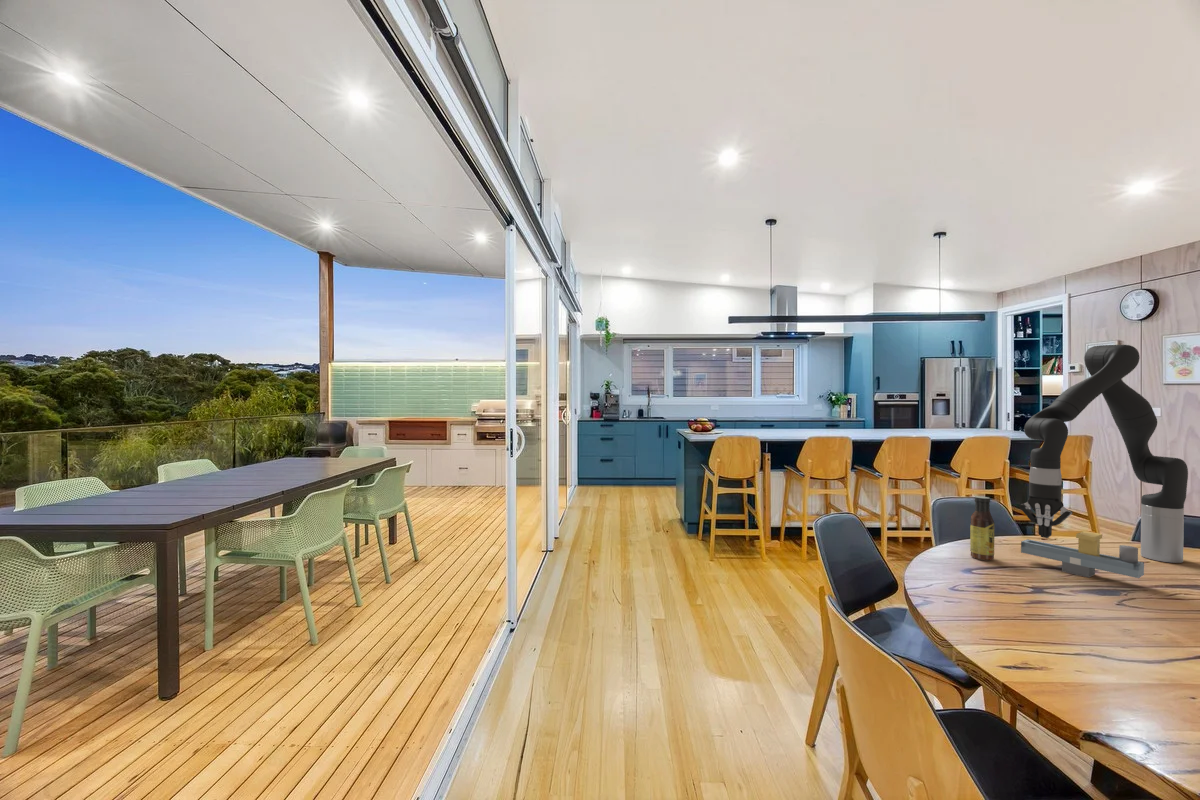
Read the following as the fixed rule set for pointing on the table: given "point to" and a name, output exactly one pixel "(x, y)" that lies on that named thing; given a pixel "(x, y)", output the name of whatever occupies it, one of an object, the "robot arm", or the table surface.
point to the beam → (1087, 559)
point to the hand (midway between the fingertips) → (1044, 537)
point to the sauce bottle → (982, 530)
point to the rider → (1089, 543)
